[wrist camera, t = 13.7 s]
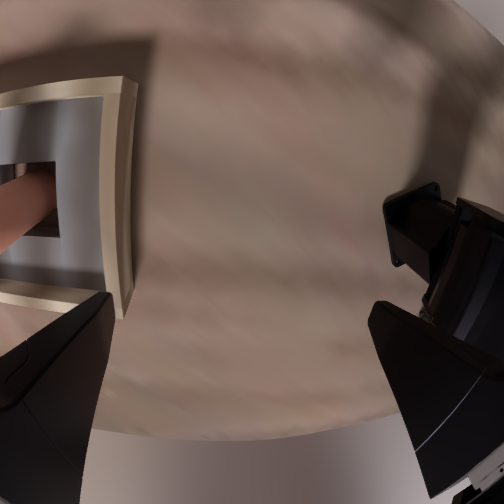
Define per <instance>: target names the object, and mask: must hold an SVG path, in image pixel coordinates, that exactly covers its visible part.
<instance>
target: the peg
mask: <svg viewBox="0 0 504 504" xmlns="http://www.w3.org/2000/svg"><path fill="white" fill-rule="evenodd" d="M56 206H57V193H56V180H55V178H54V177H53V176H52V175H51V174H50V173H49V172H47V171H45V170H42V169H38V170H34V171H32V172H30V173H27V174H25V175H23V176H20V177H18V178H16V179H13V180H11V181H9V182H7V183H5V184H3V185H1V186H0V254H1V253H2V252H4V251H5V250H6V249H7V248H8V247H9V246H10V245H12V244H13V243H14V242H15V241H16V240H18V239H19V238H20V237H21V236H22V235H24V234H25V233H26V232H27V231H29V230H30V229H31V228H32V227H34V226H35V225H36V224H37V223H39V222H40V221H41V220H43V219H44V218H45V217H46V216H48V215H49V214H50V213H52V212H53V211H54V210H55V208H56Z"/></svg>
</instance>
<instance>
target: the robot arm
mask: <svg viewBox="0 0 504 504" xmlns="http://www.w3.org/2000/svg"><path fill="white" fill-rule="evenodd" d="M434 187H435V189H434ZM456 204H457V205H454V204H452V203H450V202H448V201H446V200H441V194H440V186H439V184H438V183H435V182H432V183H430V184H428V185H425V186H423V187H421V188H419V189H417V190H414V191H412V192H410V193H408V194H405V195H403V196H401V197H399V198H397V199H394V200H392V201H390V202H388V203H386V204H385V205H384V206H383V214H384V219H385V224H386V230H387V235H388V241H389V247H390V254H391V261H392V264H393V265H394V266H395V267H399V266H401V265H403V264H405V263H406V264H407V265H408V266H409V267H410V268H411V269H412V270H414V271H415V272H416V273H417V274H418V275H419V276H420V277H421V278H422V279H424V280H425V281H426V282H427V283H428V284H429V287H428V289H427V291H426V294H424V296H423V298H422V302H423V304H424V306H425V308H426V310H427V312H428V314H429V316H430V318H431V322H432V324H433V325H432V324H430V323H428V322H426V321H424V320H422V319H421V318H419V317H417V316H415V315H413V314H411V313H409V312H407V311H405V310H403V309H401V308H399V307H397V306H395V305H393V304H392V303H390V302H388V301H376V302H375V303H374V305H373V308H372V311H371V313H370V316H369V318H368V327H369V330H370V333H371V336H372V339H373V342H374V345H375V348H376V351H377V354H378V357H379V360H380V363H381V365H382V367H383V370H384V372H385V374H386V377H387V379H388V382H389V384H390V387H391V389H392V392H393V394H394V397H395V399H396V402H397V404H398V407H399V409H400V412H401V415H402V417H403V420H404V422H405V425H406V428H407V431H408V433H409V436H410V439H411V442H412V445H413V447H414V450H415V451H416V452H415V453H416V457H417V459H418V463H419V466H420V469H421V472H422V475H423V478H424V481H425V485H426V488H427V491H428V495H429V497H430V499H432V498H434V497H436V496H438V495H439V494H441V493H443V492H444V491H446V490H448V489H449V488H451V487H453V486H454V485H456V484H458V483H459V482H461V481H462V480H464V479H465V478H467V477H468V478H469V479H470V481H471V483H472V484H471V485H470V486H469V487H467V488H465V489H464V490H462V491H461V492H459V493H458V494H456V495H455V496H454V497H453V501H452V504H504V214H502V213H500V212H498V211H496V210H494V209H492V208H490V207H487V206H484V205H481V204H478V203H475V202H472V201H469V200H466V199H463V198H460V197H457V201H456ZM389 207H390V209H389V211H388V208H389ZM397 261H398V262H397ZM396 262H397V263H396ZM114 324H115V308H114V301H113V295H112V293H111V292H104V291H99V292H97V293H96V294H94V295H93V296H91V297H90V298H88V299H86V300H85V301H83V302H82V303H80V304H79V305H77V306H76V307H74V308H73V309H71V310H70V311H68V312H67V313H65V314H64V315H62V316H60V317H59V318H57V319H56V320H54V321H53V322H52V323H50V324H49V325H47V326H46V327H44V328H43V329H41V330H40V331H38V332H37V333H35V334H34V335H32V336H31V337H29V338H28V339H27V341H26V340H25V341H24V342H22V343H21V344H19V345H18V346H16V347H15V348H14V349H12V350H11V351H9V352H8V353H6V354H5V355H3V356H1V357H0V504H79V502H80V493H81V486H82V477H83V471H84V465H85V459H86V452H87V447H88V442H89V437H90V432H91V427H92V423H93V418H94V414H95V409H96V405H97V401H98V397H99V393H100V389H101V385H102V381H103V377H104V374H105V370H106V367H107V363H108V358H109V353H110V346H111V341H112V335H113V329H114Z"/></svg>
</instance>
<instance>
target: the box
mask: <svg viewBox="0 0 504 504" xmlns="http://www.w3.org/2000/svg"><path fill="white" fill-rule="evenodd" d="M138 85H139V84H138V83H136V82H134V81H132V80H130V79H128V78H126V77H124V76H112V77H97V78H86V79H77V80H69V81H62V82H55V83H48V84H43V85H37V86H32V87H27V88H22V89H18V90H13V91H9V92H5V93H1V94H0V186H1V185H3V184H5V183H7V182H9V181H11V180H13V179H14V164H17V163H30V162H48V161H56V193H57V209H58V220H59V227H39V226H34V227H32V228H31V229H30V230H29V231H27V232H26V233H25V234H24V235H22V236H21V237H20V238H19V239H18V240H16V241H15V242H14V243H13V244H12V245H10V246H9V247H8V248H7V249H6V250H5V251H4V252H2V253H1V254H0V302H4V303H9V304H14V305H20V306H25V307H31V308H37V309H43V310H49V311H56V312H63V313H67V312H68V311H70V310H71V309H73V308H74V307H76V306H77V305H79V304H80V303H82V302H83V301H85V300H86V299H88V298H90V297H91V296H93V295H94V294H96V293H97V292H99V291H104V292H111V293H112V295H113V301H114V308H115V319H120V320H124V317H125V314H126V311H127V308H128V305H129V302H130V299H131V297H132V294H133V291H134V286H133V272H132V253H131V210H130V207H131V164H132V146H133V132H134V121H135V111H136V101H137V93H138Z"/></svg>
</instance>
